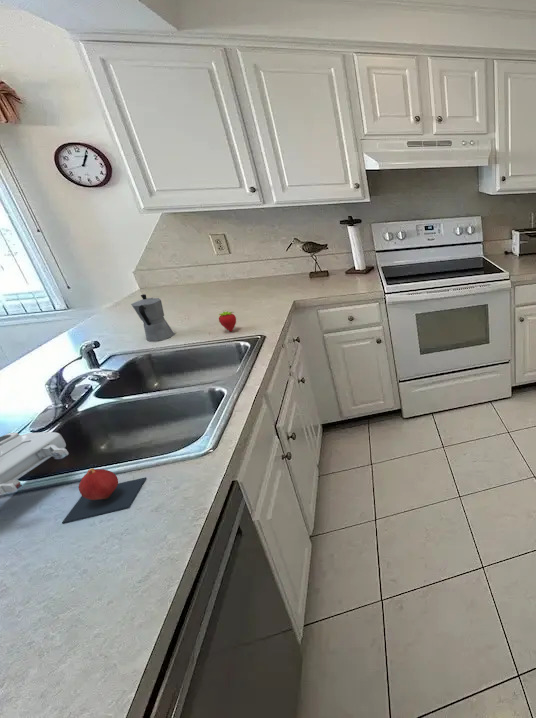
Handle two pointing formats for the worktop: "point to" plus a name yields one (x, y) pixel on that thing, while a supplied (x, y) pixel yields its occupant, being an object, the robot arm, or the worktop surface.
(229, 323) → the strawberry
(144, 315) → the coffeepot
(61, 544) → the worktop surface
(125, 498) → the pad
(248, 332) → the worktop surface
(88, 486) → the red oval piece
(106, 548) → the worktop surface
